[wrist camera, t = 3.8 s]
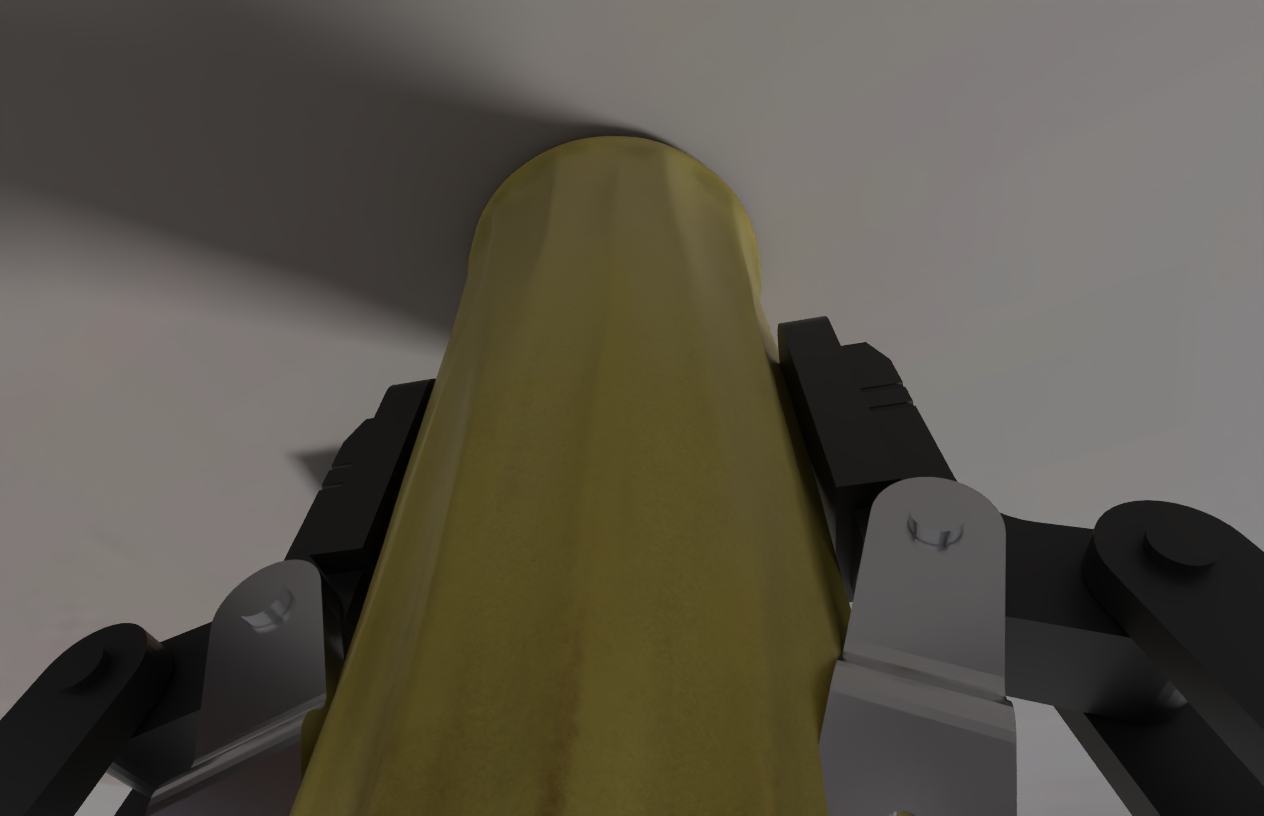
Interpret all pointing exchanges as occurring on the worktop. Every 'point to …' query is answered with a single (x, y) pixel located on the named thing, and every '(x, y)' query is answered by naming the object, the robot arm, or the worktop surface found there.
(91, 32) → the worktop surface
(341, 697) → the vase
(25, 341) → the worktop surface
